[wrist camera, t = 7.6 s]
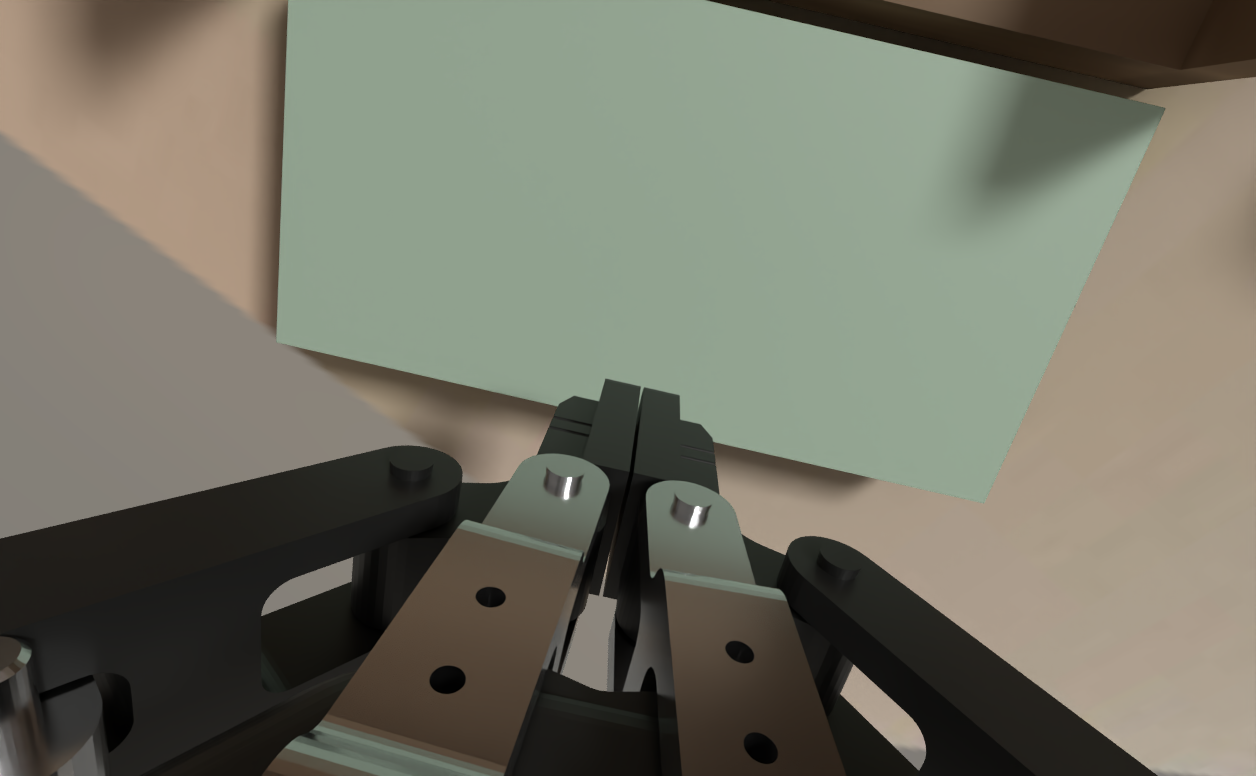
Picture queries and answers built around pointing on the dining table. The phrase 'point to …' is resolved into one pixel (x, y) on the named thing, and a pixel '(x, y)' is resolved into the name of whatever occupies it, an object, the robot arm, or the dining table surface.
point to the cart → (1082, 33)
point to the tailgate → (696, 219)
